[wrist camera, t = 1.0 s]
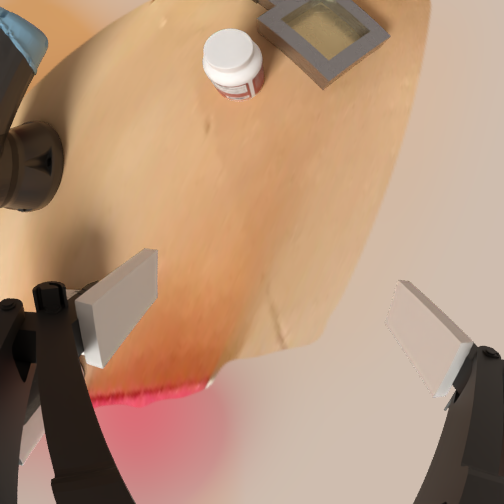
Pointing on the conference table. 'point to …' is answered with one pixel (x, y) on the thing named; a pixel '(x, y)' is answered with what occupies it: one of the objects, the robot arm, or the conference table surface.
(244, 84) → the pill bottle
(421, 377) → the robot arm
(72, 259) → the conference table surface
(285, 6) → the grey square pan
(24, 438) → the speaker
